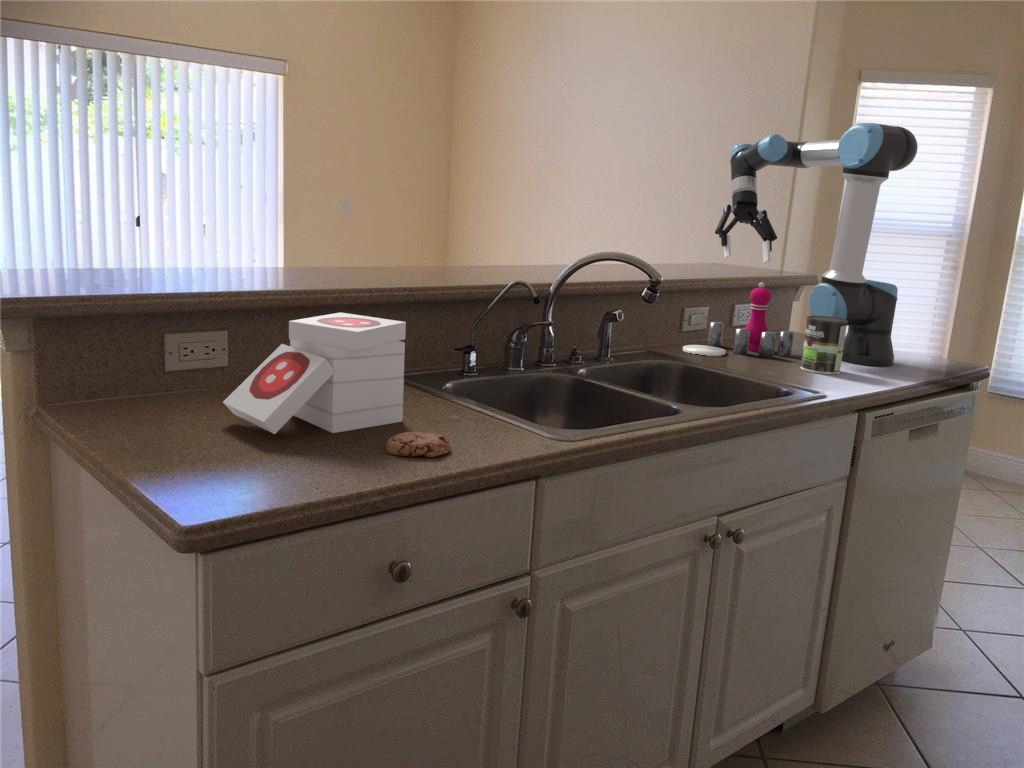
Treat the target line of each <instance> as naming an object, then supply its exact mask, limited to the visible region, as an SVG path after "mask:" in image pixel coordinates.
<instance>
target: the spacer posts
mask: <svg viewBox="0 0 1024 768" xmlns="http://www.w3.org/2000/svg"><path fill="white" fill-rule="evenodd" d="M724 325H725V323H724V322H720V321H710V322H709V330H708V337H707V346H708V345H709V346H714V347H718V348H722V343H723V335H724V327H725V326H724ZM734 334H735V335H734V341H733V342H734V343H733V351H732V353H733V354H734V353H735V355H741V356H743V355H745V356H746V355H748V352H749V350H748V344H749V336H750V330H749V329H745V327H744V328H741V327H737V328H735V332H734ZM778 335H779V336H778V342H777V344H778V345H777V350H776V351H777V353H776V356H778V357H783V358H791V357H792V353H793V345H794V339H795V338H794V337H795V331H791V330H779V334H778ZM776 338H777V332H773V331H769V330H768V331H762V332H761V341H760V349H759V352H758V358H759V357H760V358H762V359H763V358H764V359H774V353H775V344H776Z"/></svg>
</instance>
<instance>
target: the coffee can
mask: <svg viewBox="0 0 1024 768" xmlns="http://www.w3.org/2000/svg"><path fill="white" fill-rule="evenodd" d="M847 324H848V321H847V320H845V319H841V318H836V317H829V316H813V315H808V316H806V327H805V334H804V340H803V348H802V355H801V362H800V367H799V368H800V369H801V370H802V371H804V372H807V373H812V374H819V375H827V376H828V375H829V376H832V375H835V376H836V375H839V374H840V373H841V365H842V361H843V360H842V354H843V347H844V341H845V336H846V334H847V329H848V328H847V327H848V326H847Z"/></svg>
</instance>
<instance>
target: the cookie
mask: <svg viewBox="0 0 1024 768" xmlns="http://www.w3.org/2000/svg"><path fill="white" fill-rule="evenodd" d="M385 450H386V452H387V453H388V454H389V455H392V454H393V455H392V456H403V457H407V456H409V457H410V456H412V457H411V458H413V457H418V456H424V457H426V458H435V456H436V457H438V456H442V455H447V454H446V453H447V452H449V451H450V452H451V451H452V449H451V445H450V438H448V437H446V436H445V435H442V434H437V433H434V432H424V433H423V432H422V431H421V432H420V431H407V432H401V433H398V434H395V435H393V436H391V437H390V438H389V439H388V440H387V442H386V446H385ZM450 452H449V453H450Z"/></svg>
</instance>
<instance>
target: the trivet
mask: <svg viewBox="0 0 1024 768" xmlns="http://www.w3.org/2000/svg"><path fill="white" fill-rule="evenodd" d="M682 351H683V353H686V352H687V353H686V354H689V353H692V354H691V355H694V354H699V355H698V356H700V355H706V356H705V357H723V356H722V355H724V356H725V355H726V354H727V353H726V351H727V350H726V349H724V348H722V347H713V346H708V345H703V344H688V345H686V344H685V345H683V346H682Z"/></svg>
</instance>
